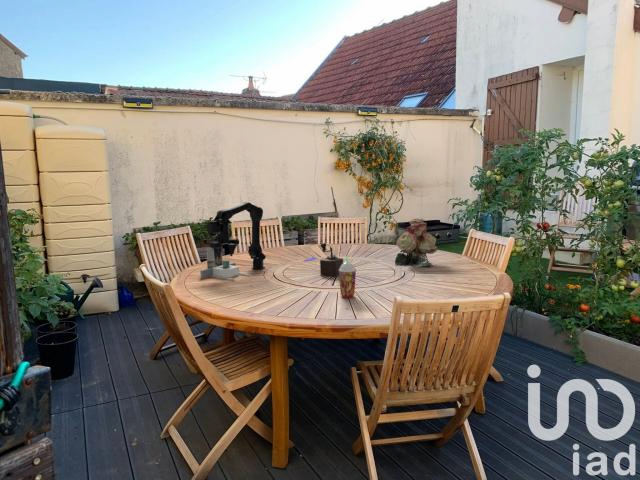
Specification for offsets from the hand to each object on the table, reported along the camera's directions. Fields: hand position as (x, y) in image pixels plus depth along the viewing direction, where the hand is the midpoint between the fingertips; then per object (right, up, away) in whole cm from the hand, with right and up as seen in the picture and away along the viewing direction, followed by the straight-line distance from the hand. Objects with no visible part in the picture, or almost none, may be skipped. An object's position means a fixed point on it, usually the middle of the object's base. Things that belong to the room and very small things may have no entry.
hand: (225, 257), depth 262 cm
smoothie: (+70, -18, -47) cm, 86 cm away
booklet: (+59, -5, +40) cm, 71 cm away
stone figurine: (+120, -6, +26) cm, 123 cm away
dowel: (0, -10, +2) cm, 10 cm away
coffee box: (-9, -10, +15) cm, 20 cm away
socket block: (0, -11, +2) cm, 11 cm away
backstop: (+3, -11, 0) cm, 12 cm away
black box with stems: (+62, -10, +2) cm, 63 cm away
